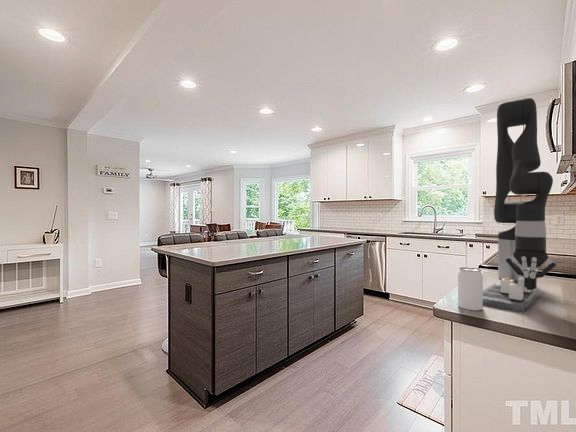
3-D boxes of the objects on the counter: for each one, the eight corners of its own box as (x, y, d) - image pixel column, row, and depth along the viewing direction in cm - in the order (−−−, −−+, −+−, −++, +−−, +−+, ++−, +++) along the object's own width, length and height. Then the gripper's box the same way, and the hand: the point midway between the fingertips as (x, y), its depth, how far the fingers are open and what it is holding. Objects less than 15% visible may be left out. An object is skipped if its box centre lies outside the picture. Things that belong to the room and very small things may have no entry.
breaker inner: (520, 289, 100) (520, 277, 100) (531, 290, 98) (531, 278, 98) (517, 290, 98) (518, 278, 98) (529, 292, 96) (529, 280, 96)
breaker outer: (511, 296, 92) (511, 283, 92) (523, 298, 90) (523, 284, 90) (508, 298, 91) (508, 284, 90) (520, 300, 88) (521, 286, 88)
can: (486, 311, 86) (486, 271, 85) (462, 310, 87) (462, 270, 87) (477, 304, 92) (477, 267, 92) (454, 303, 93) (454, 266, 93)
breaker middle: (503, 290, 99) (503, 277, 99) (514, 292, 97) (513, 278, 97) (500, 292, 97) (500, 278, 97) (511, 294, 95) (511, 280, 95)
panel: (494, 288, 110) (494, 283, 110) (539, 296, 100) (539, 289, 100) (473, 302, 94) (473, 295, 94) (523, 313, 84) (523, 305, 84)
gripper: (560, 235, 89) (560, 291, 90) (507, 233, 99) (507, 283, 100) (556, 237, 85) (556, 296, 85) (501, 234, 95) (501, 287, 95)
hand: (530, 289), depth 92 cm, fingers closed
